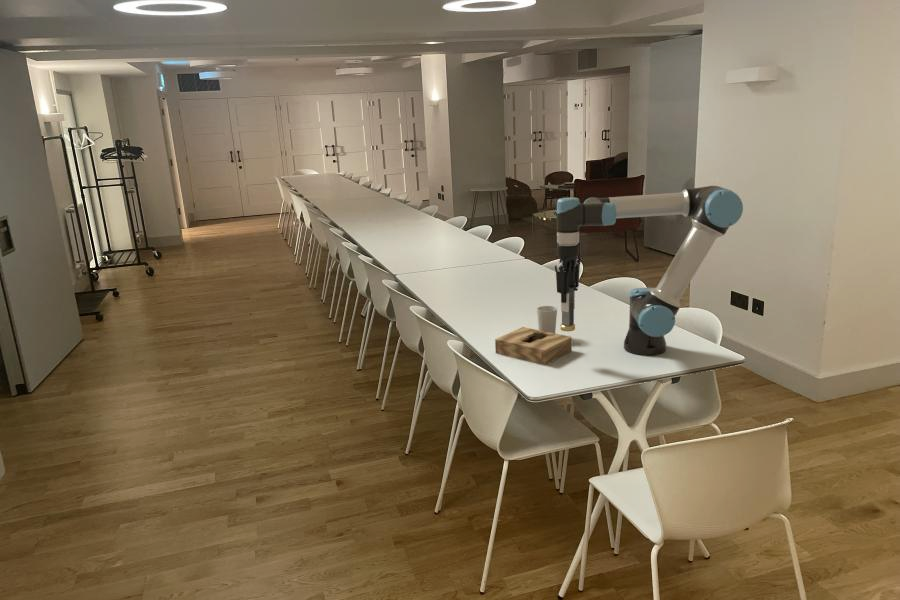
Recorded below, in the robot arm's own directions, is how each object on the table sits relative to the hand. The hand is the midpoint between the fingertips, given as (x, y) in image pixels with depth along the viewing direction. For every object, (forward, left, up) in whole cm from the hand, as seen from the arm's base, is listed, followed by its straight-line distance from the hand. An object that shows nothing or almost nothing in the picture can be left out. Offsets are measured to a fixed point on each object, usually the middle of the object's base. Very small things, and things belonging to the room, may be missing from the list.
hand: (567, 309), depth 231 cm
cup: (+21, -19, -20) cm, 34 cm away
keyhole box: (+16, -2, -19) cm, 25 cm away
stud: (0, 0, -7) cm, 7 cm away
